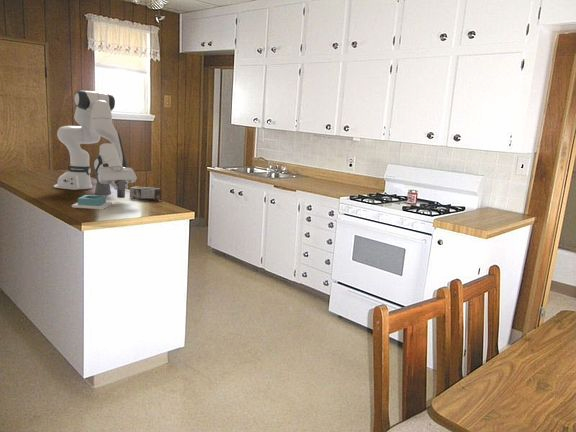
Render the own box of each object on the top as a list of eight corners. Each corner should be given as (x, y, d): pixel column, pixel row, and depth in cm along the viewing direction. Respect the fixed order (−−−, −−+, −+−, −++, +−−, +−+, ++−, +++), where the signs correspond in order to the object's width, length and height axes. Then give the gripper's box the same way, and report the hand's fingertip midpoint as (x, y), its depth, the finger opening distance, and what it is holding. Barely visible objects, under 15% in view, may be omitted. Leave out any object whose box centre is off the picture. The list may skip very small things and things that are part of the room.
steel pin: (116, 197, 249) (116, 181, 247) (118, 196, 253) (118, 180, 251) (123, 198, 249) (123, 181, 247) (125, 196, 253) (126, 180, 251)
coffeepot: (88, 192, 281) (88, 163, 278) (100, 191, 290) (99, 162, 286) (108, 196, 276) (108, 166, 272) (119, 194, 285) (119, 165, 281)
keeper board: (71, 207, 240) (71, 198, 239) (82, 202, 254) (82, 193, 253) (103, 209, 241) (103, 200, 240) (111, 204, 255) (111, 195, 254)
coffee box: (129, 198, 275) (154, 201, 272) (129, 187, 273) (154, 190, 271) (137, 196, 283) (161, 198, 281) (137, 185, 282) (161, 188, 279)
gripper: (130, 170, 263) (137, 190, 259) (94, 171, 250) (101, 192, 245) (134, 164, 259) (141, 184, 255) (97, 164, 245) (104, 186, 241)
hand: (121, 188), depth 250 cm, fingers closed on steel pin, 4 cm apart
